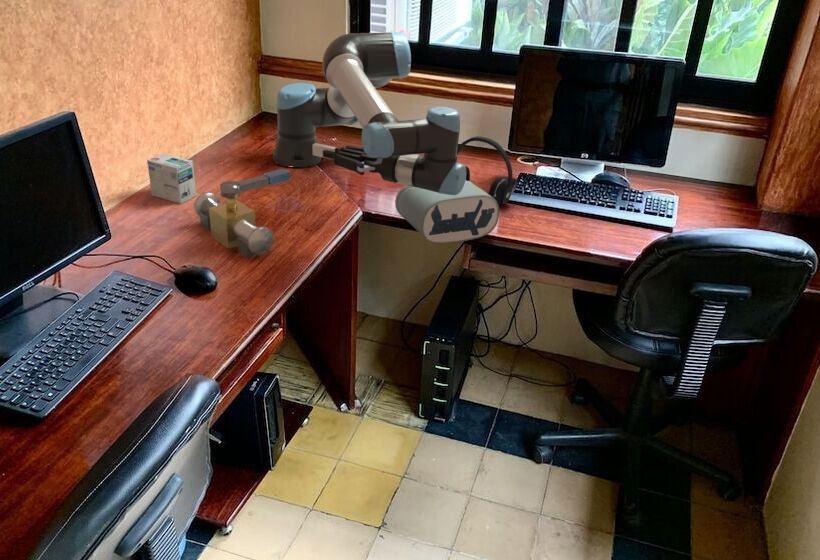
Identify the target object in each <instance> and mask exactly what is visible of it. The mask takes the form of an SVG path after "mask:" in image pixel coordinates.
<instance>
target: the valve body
mask: <svg viewBox="0 0 820 560" xmlns="http://www.w3.org/2000/svg"><path fill="white" fill-rule="evenodd" d="M196 197H197V198H195V201H194V202H193V203H194V204H193V209H194V212H195V214H196V215H197V216H199V222H200V223H199V224H200V226H201V227H202V228H203V229H205V230H206V231H207V232H210V236H211V238H212V239H214V240H215V241H216V242H218V243H220V244H221V245H222V246H224V247H225V248H226V249H228V250H229V249H232V248H235V247H238V254H240V255H242V256H243V257H245V258H246V259H250V258H253V257H256V256H259V255H264V254H265V253H267V251H268V252H269V250H270V249H271V248H272V246H273V244H274V242H275V241H274V240H275V236H274V233H273V231H272V230H271V229H270V228H268V227H267V226H256V213H255V212H256V211H255V210H254V209H252V208H250V207H249V206H247V205H246V204H244V203H242V202H241V201H239V200H238V199H237V198H238V197H235V198H225V203H221V202H220V199H219V197H218V196H217V195H216V194H214V193H212V192H210V191H207V192H206V191H205V192H203V193H200V194H199V195H198V196H196Z"/></svg>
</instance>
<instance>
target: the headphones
mask: <svg viewBox="0 0 820 560" xmlns="http://www.w3.org/2000/svg"><path fill="white" fill-rule="evenodd" d="M470 142H481V143H485V144H487V145H490V146H492V147H493V148H494V149H495V150H496V151H497V152H498V153H499V154H500V155H501V157H502V159H503V160H504V163H505V166H506V170H507V178H506V177H502V176H499V177H496V178H495V179H494V180H493V181H492V183H491V185H490V187H489V189H488V190H489V191H488V194H489V195H490V196H491V197H493V198H494V199H495V200H496V201H497V203H498V206H499V205H501V204H502V205H505V204H507V203H508V202H509V201H510V199H511V196H512V193H513V187H514V186H513V167H512V163H511V161H510V159H509V156H508V154H507V152H506V151H505V149H504V148H503V147H502V145H500V143H498V142H497V141H495V140H494V139H491V138H488V137H484V136H472V137H470V138H469V139H466V140H464V141H463V142H462V143H461V144H459V145H458V148H457V156H458V155H459V152H460V151H461V149H462V148H464V147H465V146H467V144H468V143H470ZM464 166H465V167H466V180H467V181H470V182H471V171H470V169H469V167H468V166H466V165H464Z"/></svg>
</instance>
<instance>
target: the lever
mask: <svg viewBox="0 0 820 560" xmlns="http://www.w3.org/2000/svg"><path fill="white" fill-rule="evenodd" d="M290 180H291V175H290V171H288V170H287V169H285V168H280V169H276V170H272V171H268V172H265V173H263V174H262V175H258V176H254V177H250V178H247V179H243V180H239V181H235V180H228V181H227V180H226V181H222V182H221V183H220V184H219V192H220V196H221V197H223V198H225V199H226V198H235V197H236V198H238V197H240V196H241V195H242V193H245V192H247V191H250V190H255V189H258V188H262V187H265V186H274V185H277V184H281V183H285V182H288V181H290Z"/></svg>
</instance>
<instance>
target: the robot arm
mask: <svg viewBox="0 0 820 560" xmlns="http://www.w3.org/2000/svg"><path fill="white" fill-rule="evenodd" d="M410 47H411V46H410V43H409V41H408V38H407V37H406V35H405V34H404V33H403V32H399V31H397V32H396V31H393V30H392V31H390V32H367V33H366V32H359V33H355V32H354V33H353V32H352V33H350V32H349V33H346V34H341V35H340V36H338V37H336V38H335V39H333V40H332V41H331V42H330V43H329V45H327V48H325V51H324V54H323V56H322V63H321V66H322V67H321V68H322V73H323V75H324V77H325V80H326V81H327V83H328V84H329V87H319V88H317V87H315V85H314V84H312V83H309V82H305V83H304V82H296V83H295V82H294V83H291V84H287V85H285V86H282V87H281V88H279V90H278V91H277V94H276V95H277V96H276V114H277V139H276V142H275V145H274V149H273V150H272V151H273V153H272V160H273V162H274V161H275V162H277V163H279V164H282V165H285V166H293V167H305V168H308V167H307V166H311V167H314V166H316V165H318V164H319V163H321V162H322V158H324V159H328V160H333V165H334V166H338V167H341V168H344V169H347V170H349V171H352V172H354V173H357V174H358V175H359V176H364V175H365V172H369V173H372V174H376V173H378V174H379V175H380V178H382V180H383V181H385V182H390V183H394V184H397V183H398V185H399V184H400V185H405V186H409V187H410V188H412V187H417V188H421V189H426V190H430V191H434V192H438V193H440V194H447V195H457V194H459V193H460V192H461V191H462V189H463V187H464V184H465V180H466V167H465V166H466V165H464V164H462V163H460V162H458V155H457V148H458V147H459V140H460V139H459V138H460V132H461V116H460V115H461V114H460V112H458V111H457V110H456V109H454V108H452V107H449V106H448V107H447V106H433V107H431V108H429V109H428V110H427V112H426V115H425V118H420V119H408V120H407V119H406V120H398V118H397V117H396V116H395V114H394V113H393V111H392V110H391V108H390V107H389V106H388V104H387V103H386V101H385V100H384V98H383V97H382V96H381V95H380V93H379V92H378V90H377V88H381V87H384V86H386V85H387V84H389V83H390V82H391V81H392V80H393V79H399V80H401V79H406V78H407V77H408V76H409V74H410V72H411V65H412V58H411V57H412V54H411V48H410ZM354 124H360V126H361V128H362V131H361V145H362V146H361V147H360V146H353V145H346V146H345V147H344V146H343V147H342V146H341V147H336V146H331V145H327V144H323V143H318V140H317V137H316V128H319V127H320V128H321V127H332V126H333V127H334V126H335V127H336V126H345V125H346V126H352V125H354ZM421 154H423V155H421ZM275 162H274V163H275ZM277 163H276V164H277Z"/></svg>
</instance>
